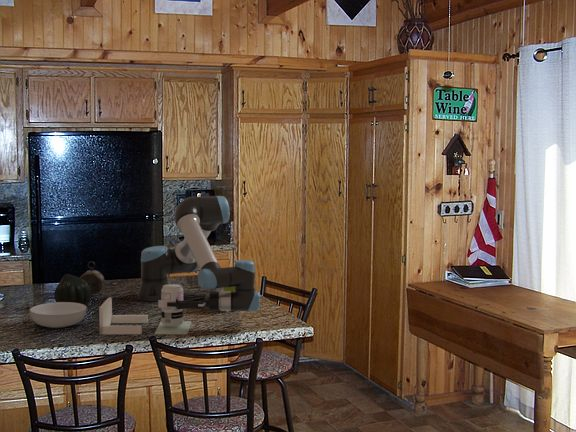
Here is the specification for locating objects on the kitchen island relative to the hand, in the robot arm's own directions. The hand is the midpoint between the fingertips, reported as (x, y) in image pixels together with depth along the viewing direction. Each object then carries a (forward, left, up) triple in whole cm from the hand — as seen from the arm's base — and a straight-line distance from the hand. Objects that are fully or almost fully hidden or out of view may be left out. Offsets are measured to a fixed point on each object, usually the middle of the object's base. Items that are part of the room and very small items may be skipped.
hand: (159, 301), depth 270 cm
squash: (-54, -4, -11) cm, 56 cm away
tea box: (-6, +44, -11) cm, 45 cm away
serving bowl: (-31, -24, -11) cm, 41 cm away
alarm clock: (-66, +13, -11) cm, 68 cm away
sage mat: (+4, +4, -10) cm, 12 cm away
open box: (-10, -9, -11) cm, 17 cm away
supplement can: (+3, +3, -9) cm, 10 cm away
